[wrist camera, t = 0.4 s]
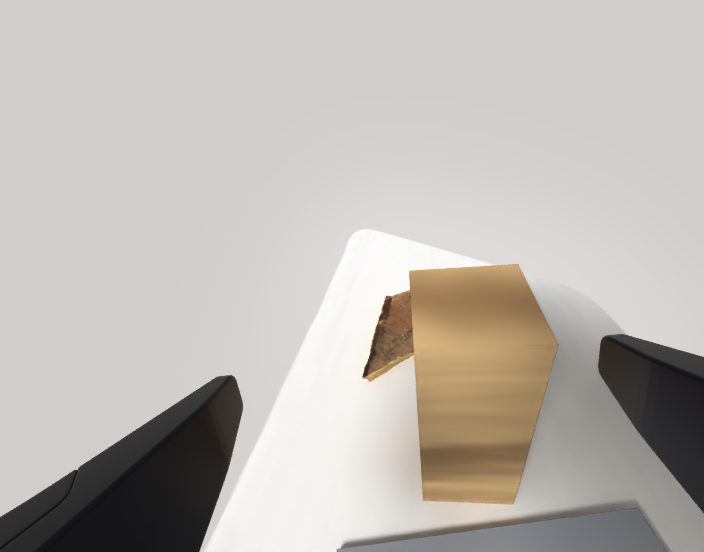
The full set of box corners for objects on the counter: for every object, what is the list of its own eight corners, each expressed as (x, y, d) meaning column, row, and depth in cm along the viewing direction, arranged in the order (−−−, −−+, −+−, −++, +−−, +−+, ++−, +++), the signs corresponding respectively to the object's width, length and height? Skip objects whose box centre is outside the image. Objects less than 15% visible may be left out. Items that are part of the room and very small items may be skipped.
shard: (365, 390, 28) (362, 375, 27) (328, 333, 34) (324, 319, 33) (472, 333, 31) (473, 318, 30) (421, 290, 37) (420, 276, 36)
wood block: (513, 504, 20) (558, 344, 12) (423, 500, 21) (413, 348, 13) (493, 422, 24) (518, 264, 16) (418, 421, 25) (409, 270, 17)
